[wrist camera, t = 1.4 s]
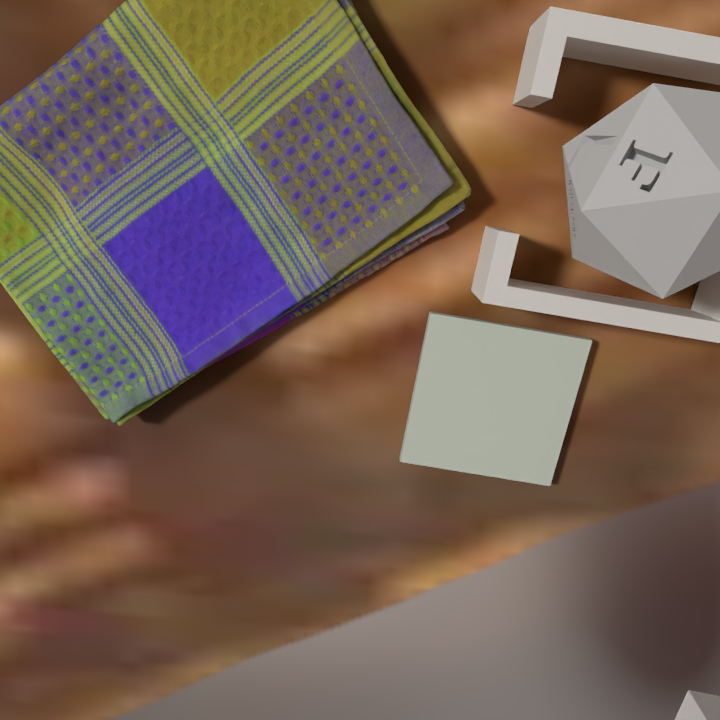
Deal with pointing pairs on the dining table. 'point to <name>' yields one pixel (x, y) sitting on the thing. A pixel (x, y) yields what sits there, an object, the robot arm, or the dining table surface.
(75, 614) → the dining table surface
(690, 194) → the die
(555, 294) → the pocket
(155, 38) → the dish towel
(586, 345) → the mat
